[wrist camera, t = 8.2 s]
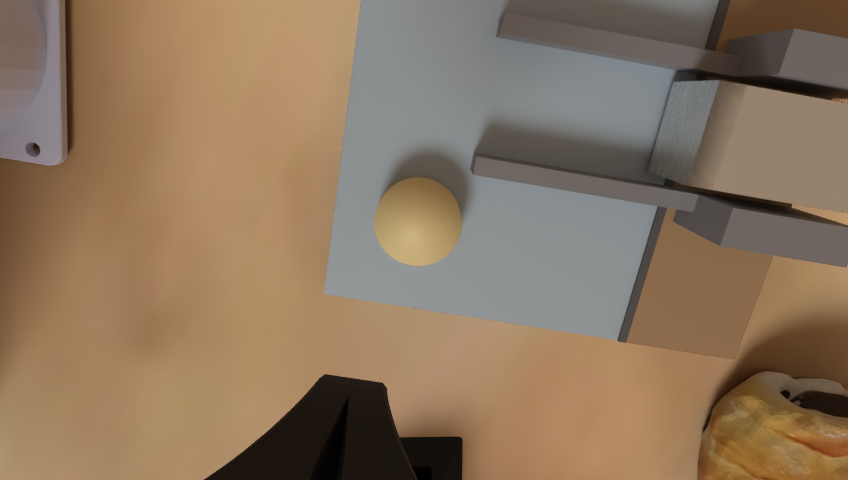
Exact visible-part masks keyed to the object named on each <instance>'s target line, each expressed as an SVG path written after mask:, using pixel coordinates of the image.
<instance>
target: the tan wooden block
mask: <svg viewBox="0 0 848 480" xmlns="http://www.w3.org/2000/svg"><path fill="white" fill-rule="evenodd" d="M648 172H650V173H653V174H656V175H659V176H661V177H664V178H667V179H670V180H673V181H675V182H678V183H681V184H684V185H686V186H692V187H698V188H703V189H709V190H715V191H721V192H727V193H732V194H738V195H744V196H750V197H756V198H761V199H767V200H773V201H779V202H784V203H790V204H796V205H802V206H808V207H813V208H819V209H825V210H831V211H837V212H842V213H848V103H842V102H837V101H831V100H826V99H820V98H815V97H809V96H804V95H798V94H793V93H788V92H782V91H777V90H771V89H766V88H760V87H755V86H749V85H744V84H738V83H733V82H727V81H722V80H709V81H682V82H673V85H672V88H671V92H670V95H669V99H668V102H667V105H666V109H665V112H664V116H663V119H662V123H661V126H660V130H659V133H658V137H657V140H656V144H655V147H654V150H653V154H652V157H651V161H650V164H649V168H648Z"/></svg>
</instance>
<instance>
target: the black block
mask: <svg viewBox="0 0 848 480" xmlns="http://www.w3.org/2000/svg"><path fill="white" fill-rule="evenodd" d="M400 440H401V443H402V445H403V448H404V450H405V453H406V455H407V457H408V460H409V462H410V464H411V466H412V468H413V470H414V472H415V475H416V477H417V479H418V480H462V438H461V437H405V438H400Z"/></svg>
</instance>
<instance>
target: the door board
mask: <svg viewBox="0 0 848 480" xmlns="http://www.w3.org/2000/svg"><path fill="white" fill-rule="evenodd" d="M709 80H722V81H727V82H733V83H738V84H744V85H749V86H755V87H760V88H766V89H771V90H777V91H782V92H788V93H793V94H798V95H804V96H809V97H815V98H820V99H826V100H831V99H832V98H838V99H848V0H361V5H360V13H359V21H358V29H357V37H356V45H355V53H354V61H353V69H352V76H351V84H350V92H349V100H348V108H347V116H346V124H345V132H344V140H343V148H342V156H341V164H340V172H339V180H338V187H337V195H336V203H335V211H334V219H333V227H332V235H331V243H330V251H329V259H328V267H327V275H326V283H325V291H324V294H328V295H334V296H341V297H347V298H353V299H360V300H366V301H372V302H379V303H385V304H392V305H398V306H404V307H411V308H417V309H423V310H430V311H436V312H442V313H449V314H455V315H461V316H468V317H474V318H480V319H487V320H493V321H499V322H506V323H512V324H519V325H525V326H531V327H538V328H544V329H550V330H557V331H563V332H569V333H576V334H582V335H588V336H595V337H601V338H607V339H614V340H618V341H619V342H625V343H633V344H639V345H645V346H652V347H658V348H664V349H671V350H677V351H683V352H690V353H696V354H702V355H709V356H715V357H721V358H728V359H734V360H735V357H736V355H737V352H738V349H739V346H740V344H741V341H742V338H743V336H744V333H745V330H746V328H747V325H748V322H749V320H750V317H751V314H752V312H753V309H754V306H755V303H756V301H757V298H758V295H759V293H760V290H761V287H762V285H763V282H764V279H765V277H766V274H767V271H768V269H769V266H770V263H771V261H772V258H773V255H775V256H780V257H786V258H792V259H798V260H804V261H810V262H816V263H822V264H828V265H834V266H840V267H847V264H848V225H845V224H841V223H838V222H835V221H832V220H829V219H826V218H822V217H819V216H816V215H813V214H810V213H807V212H804V211H800V210H797V209H794V208H791V207H792V204H790V203H784V202H779V201H773V200H767V199H761V198H756V197H750V196H744V195H738V194H732V193H727V192H721V191H715V190H709V189H703V188H698V187H692V186H686V185H684V184H681V183H678V182H675V181H673V180H670V179H667V178H664V177H661V176H659V175H656V174H653V173H650V172H648V168H649V164H650V161H651V157H652V154H653V150H654V147H655V144H656V140H657V137H658V133H659V130H660V126H661V123H662V119H663V116H664V112H665V109H666V105H667V102H668V99H669V95H670V92H671V88H672V85H673V82H682V81H709Z"/></svg>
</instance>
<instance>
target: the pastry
mask: <svg viewBox="0 0 848 480" xmlns="http://www.w3.org/2000/svg"><path fill="white" fill-rule="evenodd" d="M698 480H848V388H843V386H842V385H841V384H840V383H838V382H836V381H833V380H828V379H824V378H817V379H813V378H802V379H793V378H792V377H790V376H789V375H787V374H784V373H780V372H770V371H763V372H760V373H757V374H755V375H753V376H752V377H750V378H748V379H747V380H745V381H744V382H743V383H741V384H740V385H738V386H736V387H734V388H733V389H731V390H730V391H729V392H727V393H726V394H725V395H724V396H723V397H722V398H721V399H720V400H719V401H718V403H717V404H716V405H715V406H714V407H713V408H712V414H711V418H710V421H709V424H708V426H707V428H706V430H705V431H703V433H702V442H701V447H700V450H699V462H698Z"/></svg>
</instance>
